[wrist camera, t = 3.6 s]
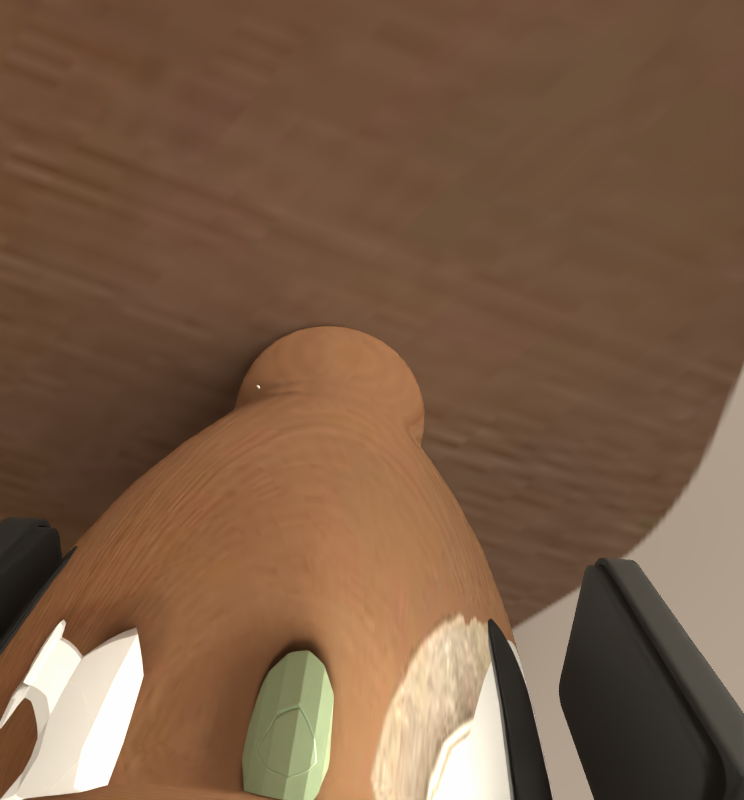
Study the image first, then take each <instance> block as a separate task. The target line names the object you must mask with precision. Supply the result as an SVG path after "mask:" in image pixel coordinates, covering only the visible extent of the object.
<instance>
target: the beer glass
mask: <svg viewBox="0 0 744 800" xmlns="http://www.w3.org/2000/svg"><path fill="white" fill-rule="evenodd" d="M424 422H425V415H424V405H423V399H422V394H421V391H420V388H419V385H418V383H417V381H416V379H415V377H414V375H413V373H412V371H411V370H410V368H409V367H408V365H407V364H406V363H405V362H404V360H403V359H402V358H401V357H400V356H399V355H398V354H397V353H396V352H395V351H394V350H393V349H391V348H390V347H389V346H388V345H386V344H385V343H383V342H382V341H380V340H378V339H377V338H375V337H373V336H371V335H369V334H366V333H364V332H361V331H358V330H354V329H350V328H345V327H337V326H319V327H312V328H306V329H302V330H299V331H296V332H293V333H291V334H288V335H286V336H284V337H282V338H280V339H279V340H277V341H276V342H274V343H273V344H271V345H270V346H269V347H267V348H266V349H265V350H264V351H263V352H262V353H261V354H260V355H259V356H258V357H257V359H256V360H255V361H254V362H253V364H252V365H251V367H250V368H249V370H248V372H247V374H246V376H245V378H244V380H243V382H242V385H241V387H240V390H239V394H238V398H237V403H236V409H235V410H234V411H232V412H230V413H229V414H227V415H225V416H224V417H222V418H221V419H219V420H217V421H216V422H214V423H213V424H211V425H210V426H208V427H207V428H205V429H204V430H202V431H201V432H199V433H198V434H196V435H194V436H193V437H191V438H190V439H188V440H187V441H186V442H184V443H183V444H181V445H180V446H179V447H177V448H176V449H175V450H174V451H172V452H171V453H170V454H169V455H167V456H166V457H165V458H164V459H162V460H161V461H160V462H159V463H157V464H156V465H155V466H154V467H152V468H151V469H150V470H149V471H147V472H146V473H145V474H144V475H142V476H141V477H140V478H139V479H137V480H136V481H135V482H134V483H133V484H132V485H131V486H130V487H129V488H128V489H127V490H126V491H125V492H124V493H123V494H122V495H121V496H120V497H119V498H118V499H117V500H116V501H115V502H114V503H113V504H112V505H111V506H110V507H109V508H108V509H107V510H106V512H105V513H104V514H103V515H102V516H101V517H100V518H99V519H98V520H97V521H96V522H95V523H94V524H93V525H92V526H91V527H90V528H89V529H88V530H87V531H86V532H85V534H84V535H83V536H82V537H81V538H80V539H79V540H78V541H77V542H76V543H75V544H74V545H73V546H72V548H71V549H70V550H69V551H68V553H67V554H66V555H65V556H64V558H63V559H62V560H61V561H60V562H59V564H58V565H57V566H56V567H55V569H54V570H53V571H52V572H51V574H50V575H49V576H48V577H47V579H46V580H45V581H44V582H43V584H42V585H41V586H40V587H39V589H38V590H37V591H36V592H35V593H34V595H33V596H32V597H31V598H30V600H29V601H28V602H27V603H26V605H25V606H24V607H23V608H22V610H21V611H20V612H19V613H18V615H17V616H16V617H15V618H14V620H13V621H12V622H11V624H10V625H9V626H8V628H7V629H6V630H5V632H4V633H3V635H2V636H1V637H0V800H554V797H553V792H552V788H551V783H550V779H549V775H548V770H547V766H546V761H545V757H544V753H543V748H542V744H541V739H540V735H539V730H538V726H537V721H536V717H535V713H534V708H533V705H532V701H531V697H530V694H529V690H528V686H527V683H526V679H525V676H524V672H523V668H522V665H521V661H520V658H519V654H518V651H517V647H516V643H515V640H514V636H513V633H512V629H511V626H510V622H509V619H508V616H507V614H506V611H505V608H504V605H503V603H502V600H501V597H500V595H499V592H498V589H497V586H496V584H495V581H494V578H493V576H492V573H491V570H490V567H489V565H488V562H487V559H486V557H485V554H484V552H483V550H482V547H481V545H480V543H479V541H478V539H477V538H476V536H475V534H474V532H473V530H472V528H471V526H470V525H469V523H468V521H467V519H466V517H465V515H464V513H463V511H462V510H461V508H460V506H459V504H458V502H457V500H456V499H455V497H454V495H453V493H452V492H451V490H450V489H449V487H448V486H447V484H446V483H445V481H444V480H443V478H442V477H441V475H440V474H439V472H438V471H437V469H436V468H435V466H434V465H433V463H432V462H431V460H430V459H429V457H428V456H427V455H426V453H425V452H424V450H423V449H422V448H421V446H420V444H421V441H422V436H423V431H424Z"/></svg>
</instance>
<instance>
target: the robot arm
mask: <svg viewBox="0 0 744 800" xmlns="http://www.w3.org/2000/svg"><path fill="white" fill-rule="evenodd" d="M61 560H62V553H61V546H60V538H59V534H58V531H57V530H56V529H54V528H51V527H50V524H49V523H48V521H47V520H45V519H37V518H23V517H8V518H7V519H5V520H3V521H2V522H1V523H0V637H1V636H2V635H3V633H4V632H5V630H6V629H7V628H8V626H9V625H10V624H11V622H12V621H13V620H14V618H15V617H16V616H17V615H18V613H19V612H20V611H21V610H22V608H23V607H24V606H25V605H26V603H27V602H28V601H29V600H30V598H31V597H32V596H33V595H34V593H35V592H36V591H37V590H38V589H39V587H40V586H41V585H42V584H43V582H44V581H45V580H46V579H47V577H48V576H49V575H50V574H51V572H52V571H53V570H54V569H55V567H56V566H57V565H58V564H59V562H60V561H61ZM559 696H560V703H561V707H562V710H563V712H564V715H565V718H566V721H567V723H568V726H569V729H570V732H571V735H572V738H573V741H574V744H575V746H576V749H577V752H578V755H579V758H580V761H581V763H582V766H583V769H584V772H585V774H586V778H587V780H588V783H589V786H590V789H591V792H592V794H593V797H594V800H744V713H743V711H742V710H741V709H740V707H739V706H738V705H737V703H736V702H735V700H734V699H733V697H732V696H731V695H730V693H729V692H728V690H727V689H726V687H725V686H724V685H723V683H722V682H721V680H720V679H719V678H718V676H717V675H716V674H715V672H714V671H713V669H712V668H711V666H710V665H709V664H708V662H707V661H706V659H705V658H704V656H703V655H702V654H701V652H700V651H699V650H698V649H697V647H696V646H695V644H694V643H693V641H692V640H691V639H690V637H689V636H688V635H687V633H686V632H685V630H684V629H683V627H682V626H681V624H680V623H679V622H678V620H677V619H676V617H675V616H674V615H673V613H672V612H671V610H670V609H669V608H668V606H667V605H666V603H665V602H664V601H663V599H662V598H661V596H660V595H659V593H658V592H657V591H656V589H655V588H654V586H653V585H652V584H651V582H650V581H649V579H648V578H647V576H646V575H645V574H644V572H643V571H642V569H641V568H640V567H639V565H638V564H637V563H636V562H635V561H633V560H625V559H610V558H600V559H598V560H597V562H596V563H595V566H587V568H586V570H585V573H584V577H583V581H582V586H581V590H580V595H579V599H578V603H577V608H576V612H575V617H574V621H573V626H572V630H571V635H570V639H569V643H568V647H567V652H566V656H565V661H564V665H563V670H562V674H561V678H560V684H559Z"/></svg>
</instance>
